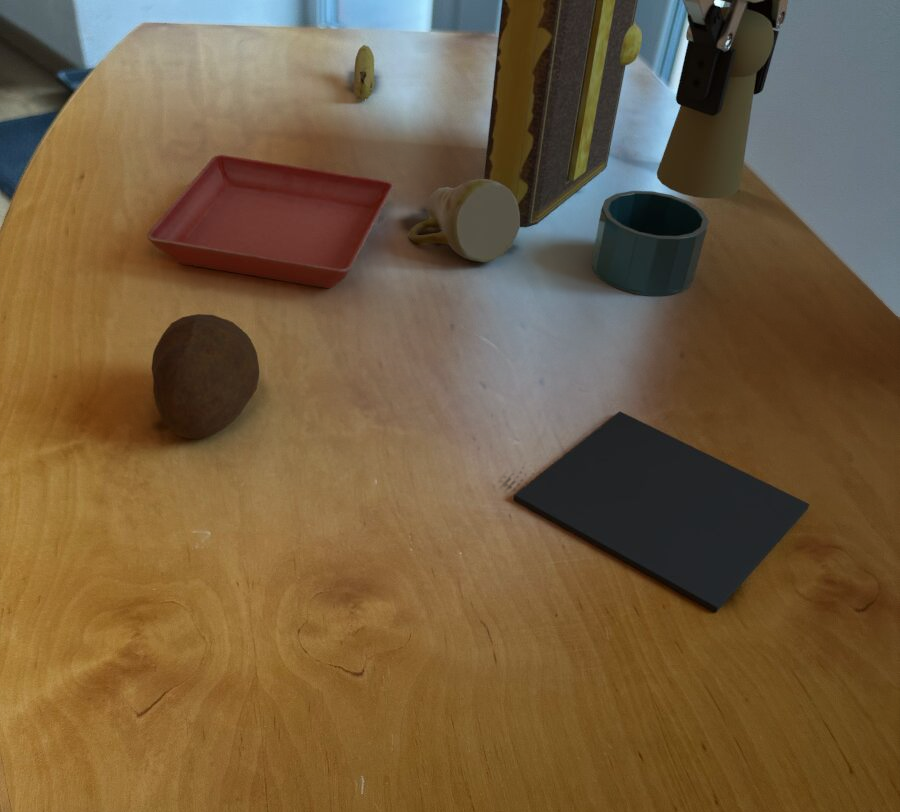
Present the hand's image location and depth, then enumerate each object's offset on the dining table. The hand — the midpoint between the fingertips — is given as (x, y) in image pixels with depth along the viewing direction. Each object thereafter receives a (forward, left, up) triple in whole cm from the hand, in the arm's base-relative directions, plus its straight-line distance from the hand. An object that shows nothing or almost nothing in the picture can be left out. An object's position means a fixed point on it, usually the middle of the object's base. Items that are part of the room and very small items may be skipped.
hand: (719, 95), depth 70 cm
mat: (-10, +15, -21) cm, 28 cm away
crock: (+9, -14, -21) cm, 27 cm away
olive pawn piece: (0, 0, -6) cm, 6 cm away
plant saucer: (+36, +7, -21) cm, 43 cm away
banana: (+56, -27, -21) cm, 66 cm away
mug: (+24, -5, -21) cm, 33 cm away
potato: (+20, +30, -21) cm, 42 cm away
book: (+26, -23, -21) cm, 41 cm away
